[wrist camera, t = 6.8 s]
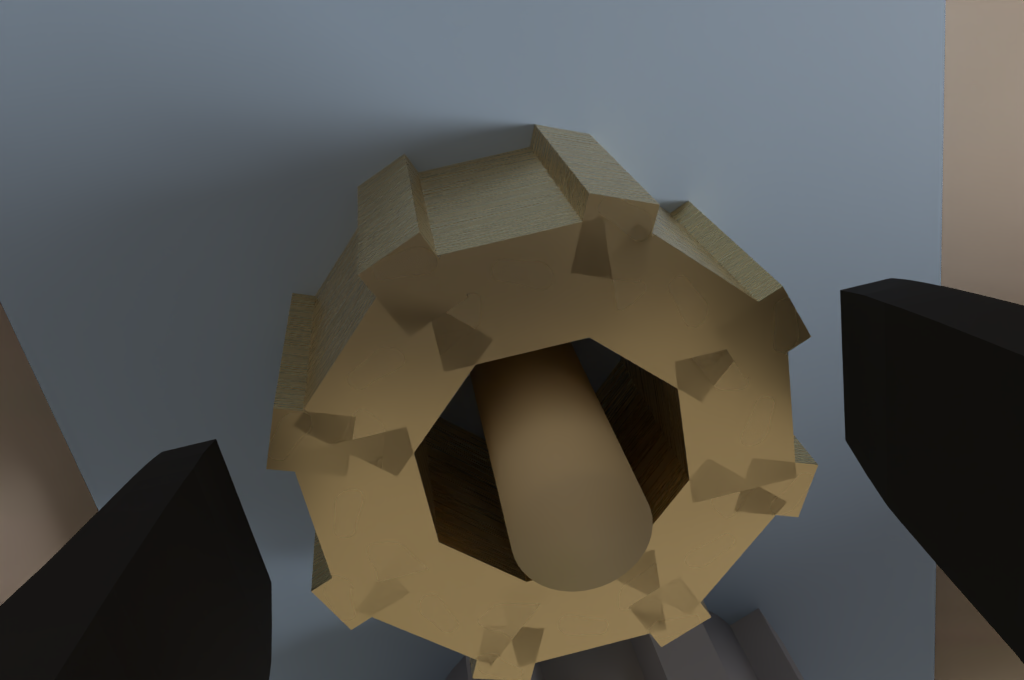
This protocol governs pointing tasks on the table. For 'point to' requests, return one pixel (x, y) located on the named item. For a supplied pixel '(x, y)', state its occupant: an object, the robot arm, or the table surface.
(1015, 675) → the table surface
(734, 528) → the brass cog
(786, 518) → the gear board
